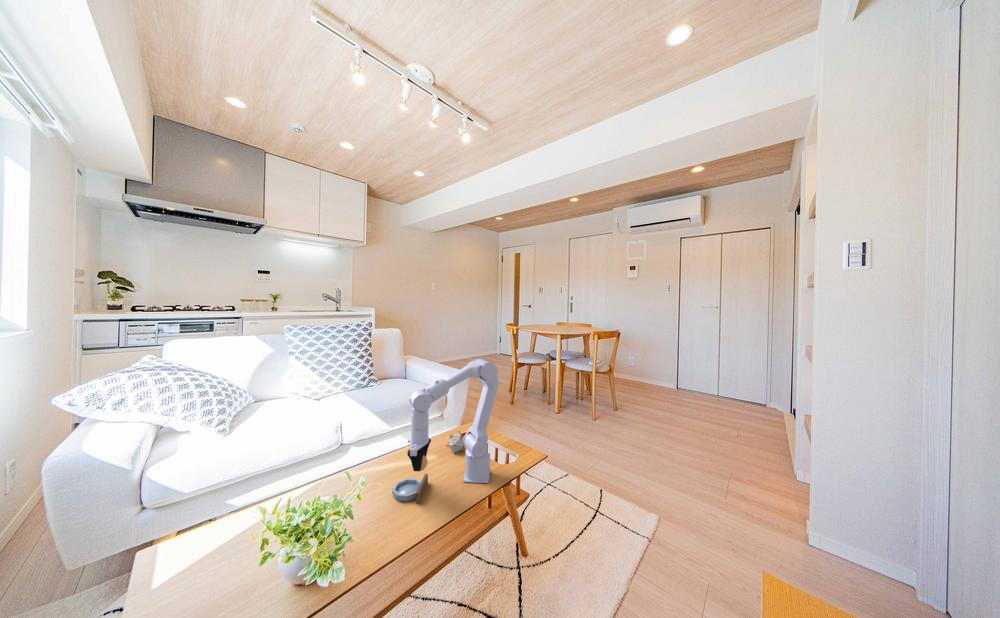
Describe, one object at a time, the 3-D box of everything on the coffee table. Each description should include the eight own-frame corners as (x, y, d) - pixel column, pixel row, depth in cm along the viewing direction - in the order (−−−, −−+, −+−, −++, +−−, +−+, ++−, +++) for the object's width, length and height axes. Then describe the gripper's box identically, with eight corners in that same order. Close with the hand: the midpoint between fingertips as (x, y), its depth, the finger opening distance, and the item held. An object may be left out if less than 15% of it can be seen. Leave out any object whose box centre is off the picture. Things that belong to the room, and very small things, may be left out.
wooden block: (427, 483, 110) (427, 473, 110) (418, 503, 99) (418, 493, 99) (425, 483, 110) (425, 473, 110) (415, 503, 99) (415, 493, 99)
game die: (453, 461, 132) (439, 445, 129) (458, 445, 139) (445, 430, 137) (469, 455, 129) (455, 439, 126) (474, 439, 136) (460, 423, 134)
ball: (429, 466, 107) (429, 451, 107) (424, 474, 102) (425, 459, 101) (414, 465, 107) (414, 451, 107) (409, 474, 102) (409, 458, 102)
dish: (425, 484, 109) (425, 479, 109) (416, 502, 100) (416, 496, 100) (399, 483, 110) (399, 478, 110) (388, 501, 100) (388, 495, 100)
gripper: (414, 418, 111) (414, 454, 112) (400, 436, 97) (400, 478, 97) (434, 418, 111) (433, 455, 111) (422, 436, 96) (422, 478, 97)
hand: (419, 465), depth 104 cm, fingers closed on ball, 5 cm apart
